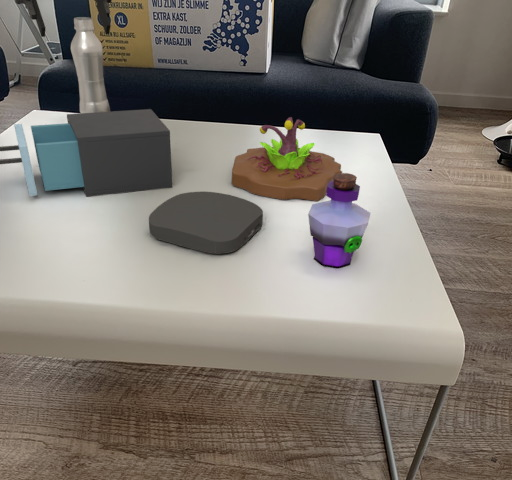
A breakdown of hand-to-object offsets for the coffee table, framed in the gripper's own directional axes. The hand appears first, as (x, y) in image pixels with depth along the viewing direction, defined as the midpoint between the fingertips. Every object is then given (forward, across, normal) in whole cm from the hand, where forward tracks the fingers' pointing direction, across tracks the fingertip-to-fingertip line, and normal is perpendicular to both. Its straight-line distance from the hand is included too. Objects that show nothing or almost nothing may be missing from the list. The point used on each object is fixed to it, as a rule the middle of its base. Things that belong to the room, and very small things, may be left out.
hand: (76, 31), depth 115 cm
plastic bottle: (+17, 0, -7) cm, 18 cm away
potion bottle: (+68, -12, +44) cm, 82 cm away
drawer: (+38, +17, +16) cm, 45 cm away
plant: (+48, -22, +24) cm, 58 cm away
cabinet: (+40, +5, +16) cm, 43 cm away
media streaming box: (+57, 0, +33) cm, 66 cm away
